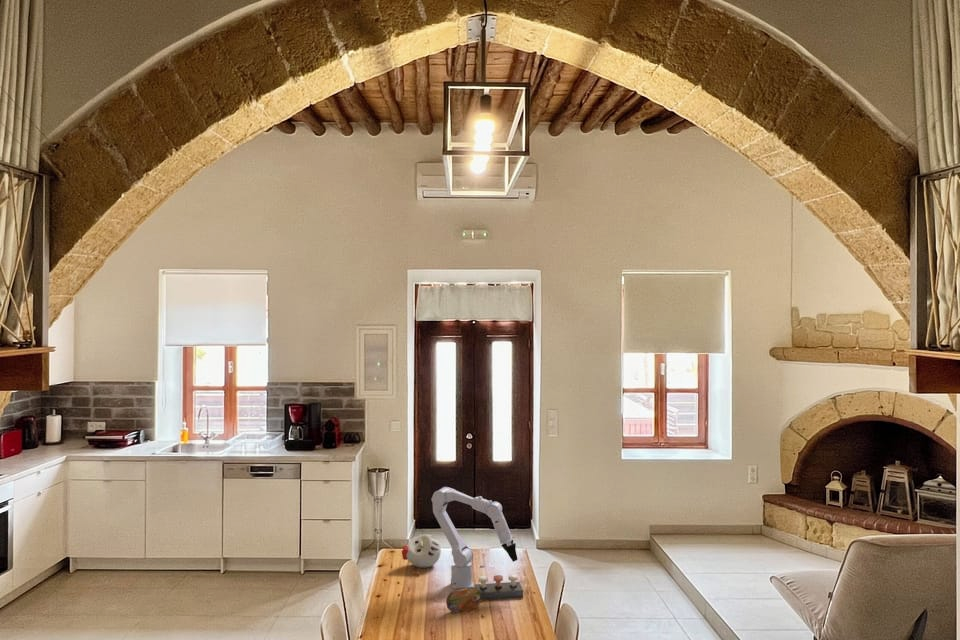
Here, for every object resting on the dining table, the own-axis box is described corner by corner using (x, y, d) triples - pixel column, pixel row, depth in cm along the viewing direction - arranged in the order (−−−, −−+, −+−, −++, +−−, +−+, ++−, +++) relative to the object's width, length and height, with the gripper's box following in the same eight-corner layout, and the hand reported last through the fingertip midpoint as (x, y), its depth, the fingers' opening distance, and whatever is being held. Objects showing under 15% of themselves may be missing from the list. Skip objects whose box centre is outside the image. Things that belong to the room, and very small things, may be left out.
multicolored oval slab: (448, 615, 262) (448, 594, 262) (445, 612, 264) (444, 591, 265) (481, 607, 269) (481, 586, 269) (478, 604, 271) (477, 584, 272)
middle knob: (494, 588, 280) (494, 578, 280) (493, 585, 284) (493, 575, 284) (503, 588, 280) (503, 578, 280) (502, 584, 284) (502, 574, 284)
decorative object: (399, 564, 323) (398, 534, 323) (435, 559, 329) (435, 529, 330) (405, 575, 308) (405, 542, 309) (444, 569, 314) (443, 538, 315)
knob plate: (476, 600, 276) (476, 593, 276) (474, 591, 286) (474, 584, 286) (523, 597, 278) (523, 590, 278) (519, 588, 288) (519, 581, 288)
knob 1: (479, 589, 279) (478, 579, 279) (478, 586, 283) (478, 576, 283) (488, 589, 280) (488, 579, 280) (487, 585, 284) (487, 575, 284)
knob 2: (509, 588, 280) (509, 577, 281) (508, 584, 284) (507, 574, 285) (518, 587, 281) (518, 577, 281) (517, 584, 285) (516, 574, 285)
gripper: (512, 527, 282) (524, 558, 280) (508, 524, 296) (520, 553, 294) (497, 534, 281) (509, 565, 279) (494, 530, 295) (506, 559, 293)
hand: (514, 559), depth 286 cm, fingers open, 7 cm apart
